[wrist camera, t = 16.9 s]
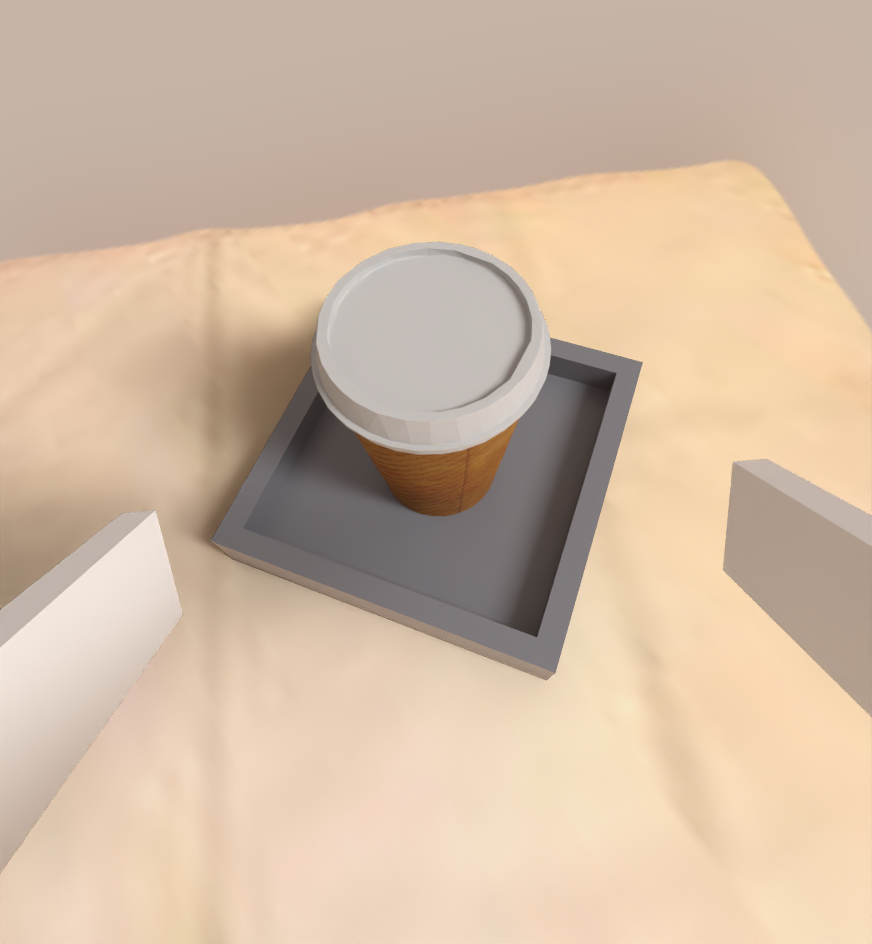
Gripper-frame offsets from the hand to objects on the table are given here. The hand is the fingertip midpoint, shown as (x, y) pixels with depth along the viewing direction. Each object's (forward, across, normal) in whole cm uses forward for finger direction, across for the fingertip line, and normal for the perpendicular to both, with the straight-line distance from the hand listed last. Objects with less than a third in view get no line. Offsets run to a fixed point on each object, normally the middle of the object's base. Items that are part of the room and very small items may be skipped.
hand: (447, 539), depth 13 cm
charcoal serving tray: (+20, 0, -5) cm, 21 cm away
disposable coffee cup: (+19, 0, -5) cm, 20 cm away
